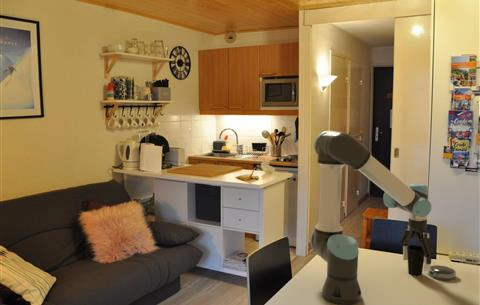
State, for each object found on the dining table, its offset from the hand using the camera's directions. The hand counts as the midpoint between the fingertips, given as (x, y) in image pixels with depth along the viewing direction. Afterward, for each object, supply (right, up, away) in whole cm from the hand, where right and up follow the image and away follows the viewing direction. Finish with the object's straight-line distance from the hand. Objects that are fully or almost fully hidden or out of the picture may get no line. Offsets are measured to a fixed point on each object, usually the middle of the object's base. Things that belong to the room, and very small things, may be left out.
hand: (416, 265), depth 191 cm
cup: (0, -4, 0) cm, 4 cm away
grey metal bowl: (+11, -4, -1) cm, 12 cm away
